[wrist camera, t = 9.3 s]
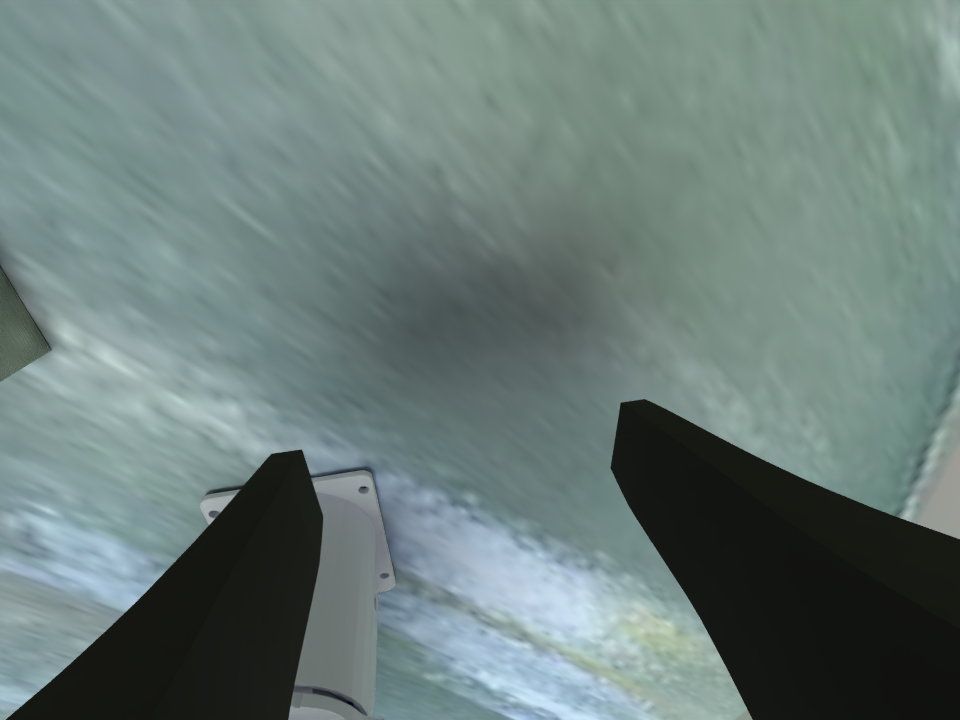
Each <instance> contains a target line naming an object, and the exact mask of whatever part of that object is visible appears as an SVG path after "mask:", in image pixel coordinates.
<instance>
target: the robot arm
mask: <svg viewBox="0 0 960 720" xmlns="http://www.w3.org/2000/svg"><path fill="white" fill-rule="evenodd" d="M611 470H612V472H613V474H614V476H615V478H616V481H617V483H618V485H619V487H620V489H621V491H622V493H623V495H624V497H625V499H626V501H627V503H628V505H629V507H630V509H631V510H632V512H633V514H634V515H635V517H636V518H637V520H638V521H639V523H640V525H641V526H642V528H643V529H644V531H645V532H646V534H647V535H648V537H649V539H650V540H651V542H652V543H653V545H654V546H655V548H656V549H657V551H658V552H659V554H660V555H661V557H662V558H663V560H664V562H665V563H666V565H667V566H668V568H669V569H670V571H671V572H672V574H673V575H674V577H675V578H676V580H677V582H678V583H679V585H680V586H681V588H682V589H683V591H684V592H685V594H686V595H687V597H688V599H689V600H690V602H691V604H692V605H693V607H694V609H695V610H696V612H697V614H698V615H699V617H700V619H701V620H702V622H703V624H704V626H705V628H706V630H707V632H708V634H709V635H710V637H711V639H712V641H713V643H714V645H715V647H716V649H717V650H718V652H719V654H720V656H721V658H722V660H723V662H724V664H725V666H726V667H727V669H728V671H729V673H730V675H731V677H732V679H733V681H734V683H735V685H736V687H737V689H738V691H739V693H740V695H741V697H742V699H743V701H744V703H745V705H746V707H747V709H748V711H749V713H750V715H751V717H752V719H753V720H960V539H957V538H954V537H951V536H949V535H946V534H943V533H940V532H937V531H934V530H932V529H929V528H926V527H923V526H920V525H918V524H915V523H912V522H909V521H906V520H903V519H901V518H898V517H895V516H893V515H890V514H887V513H885V512H882V511H879V510H877V509H874V508H872V507H869V506H867V505H864V504H862V503H859V502H857V501H855V500H852V499H850V498H847V497H845V496H842V495H840V494H837V493H835V492H833V491H830V490H828V489H825V488H823V487H821V486H818V485H816V484H814V483H812V482H809V481H807V480H805V479H803V478H800V477H798V476H796V475H794V474H792V473H790V472H788V471H786V470H783V469H781V468H779V467H777V466H775V465H773V464H771V463H769V462H766V461H764V460H762V459H760V458H758V457H756V456H754V455H752V454H750V453H748V452H746V451H744V450H742V449H740V448H738V447H737V446H735V445H733V444H731V443H729V442H727V441H725V440H723V439H721V438H719V437H717V436H715V435H714V434H712V433H710V432H708V431H706V430H704V429H702V428H700V427H699V426H697V425H695V424H693V423H691V422H689V421H687V420H685V419H684V418H682V417H680V416H678V415H676V414H674V413H672V412H670V411H668V410H666V409H664V408H662V407H660V406H658V405H656V404H654V403H652V402H650V401H648V400H645V399H643V400H636V401H629V402H622V403H621V405H620V411H619V418H618V424H617V431H616V437H615V443H614V450H613V456H612V463H611ZM362 486H366V487H367V488H361V487H362ZM199 506H200V509H201V511H202V513H203V515H204V517H205V519H206V520H207V522H208V524H209V526H208V527H207V528H206V529H205V530H204V532H203V533H202V534H201V535H200V536H199V537H198V538H197V539H196V541H195V542H194V543H193V544H192V545H191V546H190V547H189V548H188V549H187V550H186V551H185V552H184V553H183V554H182V555H181V556H180V557H179V558H178V559H177V561H176V562H175V563H174V564H173V565H172V566H171V567H170V568H169V569H168V570H167V571H166V572H165V573H164V574H163V575H162V576H161V577H160V578H159V579H158V580H157V581H156V582H155V583H154V584H153V586H152V587H151V588H150V589H149V590H148V591H147V592H146V593H145V594H144V595H143V596H142V597H141V598H140V599H139V600H138V601H137V602H136V603H135V604H134V605H133V606H132V607H131V608H130V609H129V610H128V611H127V612H126V613H124V614H123V615H122V616H121V617H120V618H119V619H118V620H117V621H116V622H115V623H114V624H113V625H112V626H111V627H110V628H109V629H108V630H107V631H106V632H104V633H103V634H102V635H101V636H100V637H99V638H98V639H97V640H96V641H95V642H94V643H93V644H91V645H90V646H89V647H88V648H87V649H86V650H85V651H84V652H83V653H82V654H81V655H80V656H78V657H77V658H76V659H75V660H74V661H73V662H72V663H71V664H70V665H69V666H67V667H66V668H65V669H64V670H63V671H62V672H61V673H60V674H59V675H57V676H56V677H55V678H54V679H53V680H52V681H51V682H49V683H48V684H47V685H46V686H45V687H44V688H42V689H41V690H40V691H39V692H38V693H36V694H35V695H34V696H33V697H32V698H31V699H29V700H28V701H27V702H26V703H25V704H24V705H22V706H21V707H20V708H19V709H18V710H16V711H15V712H14V713H13V714H12V715H11V716H9V717H8V718H7V719H6V720H384V719H380V718H373V717H371V716H372V713H373V708H374V703H375V692H376V660H377V627H378V594H379V592H384V591H389V590H391V589H393V588H394V587H395V575H394V571H393V566H392V562H391V557H390V553H389V548H388V544H387V540H386V535H385V531H384V526H383V522H382V517H381V513H380V508H379V504H378V499H377V495H376V490H375V486H374V481H373V477H372V474H371V473H370V472H368V471H365V470H360V471H354V472H348V473H341V474H335V475H329V476H322V477H316V478H311V476H310V473H309V470H308V467H307V464H306V461H305V458H304V454H303V451H302V450H295V451H288V452H282V453H275V454H271V455H270V456H269V457H268V458H267V460H266V461H265V462H264V463H263V464H262V465H261V466H260V468H259V469H258V470H257V471H256V472H255V473H254V474H253V476H252V477H251V478H250V479H249V480H248V481H247V483H246V484H245V485H244V486H243V487H242V488H241V489H239V490H233V491H227V492H220V493H214V494H209V495H206V496H205V497H203V499H202V501H201V503H200V505H199ZM216 511H218V512H216Z"/></svg>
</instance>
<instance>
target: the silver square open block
mask: <svg viewBox="0 0 960 720" xmlns="http://www.w3.org/2000/svg"><path fill="white" fill-rule="evenodd" d="M49 351H51V349H50V348H49V346H48V344H47V343H46V341H45V339H44V338H43V336H42V334H41V333H40V331H39V330H38V328H37V326H36V325H35V323H34V321H33V320H32V318H31V317H30V315H29V313H28V312H27V310H26V308H25V307H24V305H23V304H22V302H21V300H20V299H19V297H18V295H17V294H16V292H15V290H14V289H13V287H12V286H11V284H10V282H9V281H8V279H7V277H6V276H5V274H4V273H3V271H2V269H1V268H0V382H1V381H3V380H4V379H6V378H7V377H9V376H11V375H12V374H14V373H15V372H17V371H19V370H20V369H22V368H23V367H25V366H27V365H28V364H30V363H32V362H33V361H35V360H36V359H38V358H40V357H41V356H43V355H44V354H46V353H48V352H49Z"/></svg>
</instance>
